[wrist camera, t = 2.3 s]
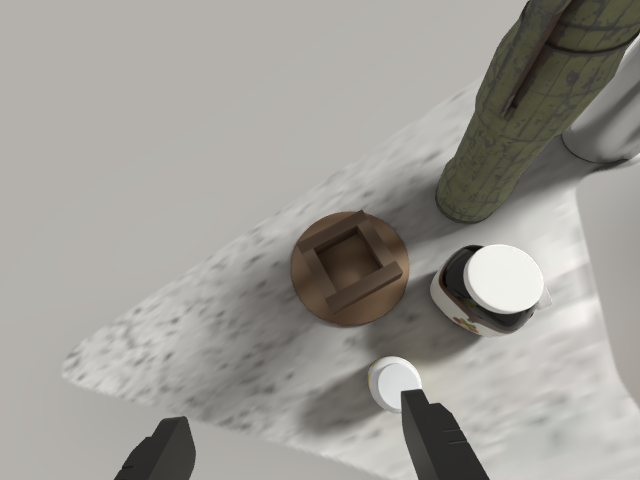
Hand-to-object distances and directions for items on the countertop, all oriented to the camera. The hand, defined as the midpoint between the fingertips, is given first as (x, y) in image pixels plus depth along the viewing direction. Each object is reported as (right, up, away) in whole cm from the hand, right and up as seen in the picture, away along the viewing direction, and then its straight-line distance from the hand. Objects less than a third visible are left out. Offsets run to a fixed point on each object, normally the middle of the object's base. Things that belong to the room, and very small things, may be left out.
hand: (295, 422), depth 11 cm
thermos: (+23, +13, +34) cm, 43 cm away
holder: (+5, +3, +32) cm, 33 cm away
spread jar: (+22, -1, +29) cm, 36 cm away
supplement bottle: (+10, -11, +26) cm, 30 cm away
